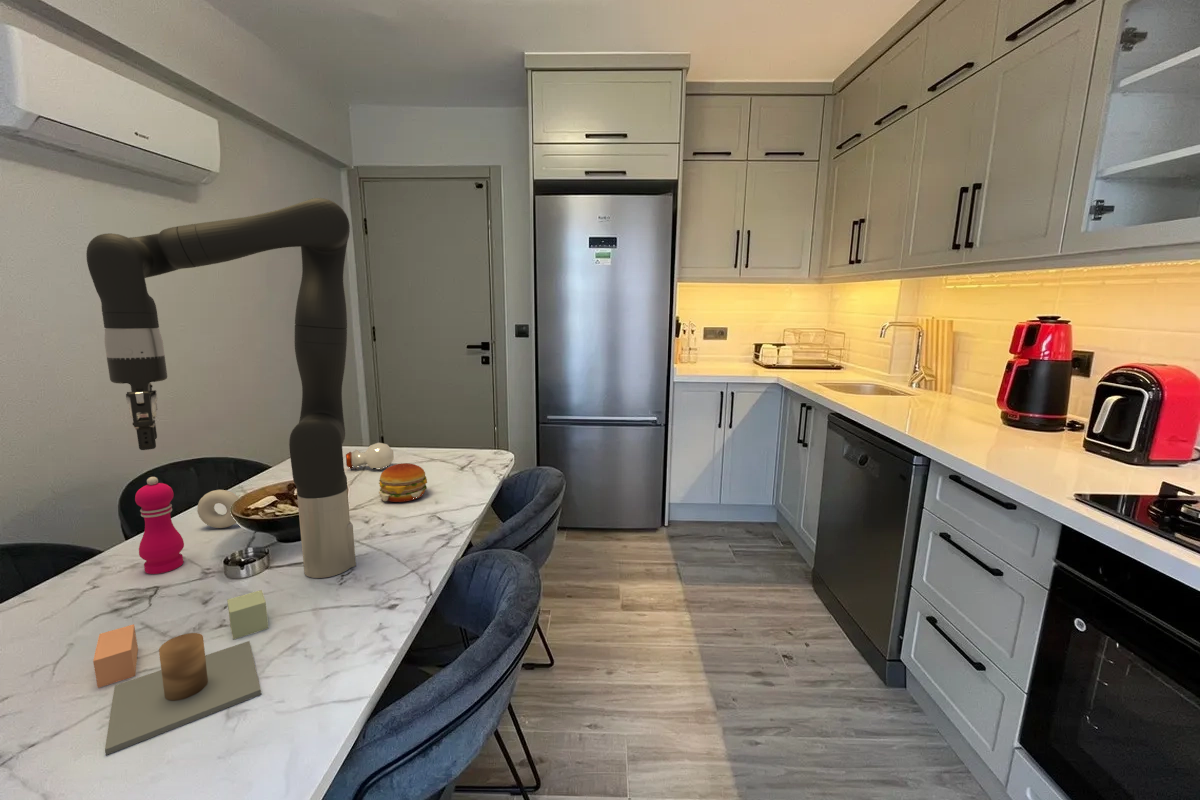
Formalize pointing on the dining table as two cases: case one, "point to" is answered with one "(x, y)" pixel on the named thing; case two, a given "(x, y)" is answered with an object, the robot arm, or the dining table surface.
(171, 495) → the pepper mill
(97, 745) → the dining table surface
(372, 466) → the potion bottle
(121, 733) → the slate mat
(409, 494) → the burger
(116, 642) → the terracotta brick
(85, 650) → the dining table surface
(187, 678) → the walnut cylinder
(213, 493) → the donut
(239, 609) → the sage cube
